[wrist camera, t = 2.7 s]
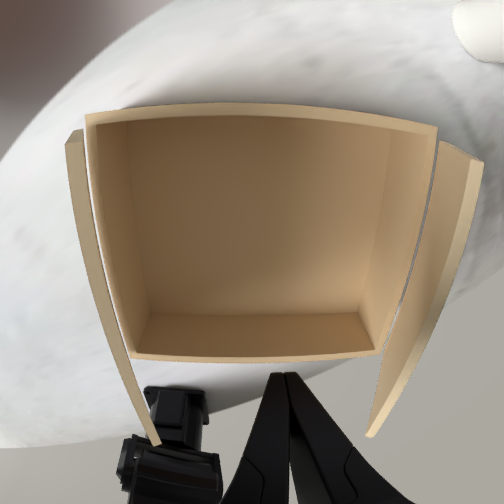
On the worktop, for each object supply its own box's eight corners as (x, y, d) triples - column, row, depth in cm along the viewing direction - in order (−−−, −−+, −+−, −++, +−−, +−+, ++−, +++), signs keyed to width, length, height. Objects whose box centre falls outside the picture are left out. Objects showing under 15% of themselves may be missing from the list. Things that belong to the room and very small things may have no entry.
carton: (362, 313, 25) (382, 354, 21) (145, 315, 24) (130, 358, 20) (399, 118, 18) (440, 127, 13) (120, 109, 17) (85, 114, 12)
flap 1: (162, 443, 13) (153, 446, 13) (127, 354, 19) (120, 356, 19) (82, 140, 7) (64, 144, 6) (83, 128, 12) (73, 130, 12)
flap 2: (384, 350, 20) (390, 352, 20) (364, 436, 14) (372, 438, 14) (439, 140, 13) (447, 142, 13) (470, 158, 7) (484, 162, 7)
